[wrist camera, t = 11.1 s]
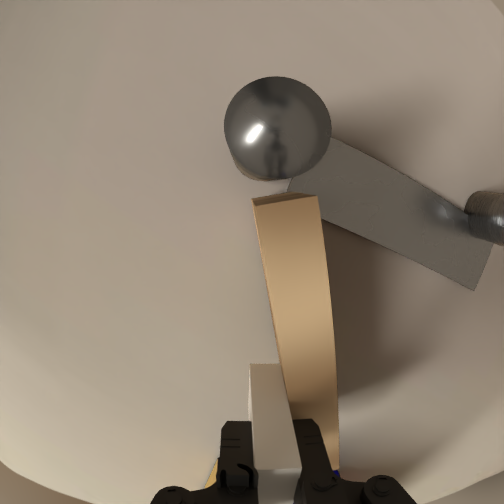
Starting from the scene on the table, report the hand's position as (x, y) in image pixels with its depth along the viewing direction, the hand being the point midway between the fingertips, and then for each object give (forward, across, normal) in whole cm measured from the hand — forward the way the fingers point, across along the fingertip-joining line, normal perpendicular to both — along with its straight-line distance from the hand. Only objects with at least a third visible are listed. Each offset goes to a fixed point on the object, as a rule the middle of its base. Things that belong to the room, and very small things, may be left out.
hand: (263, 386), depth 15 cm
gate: (+2, +2, +3) cm, 4 cm away
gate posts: (+3, +7, +10) cm, 12 cm away
